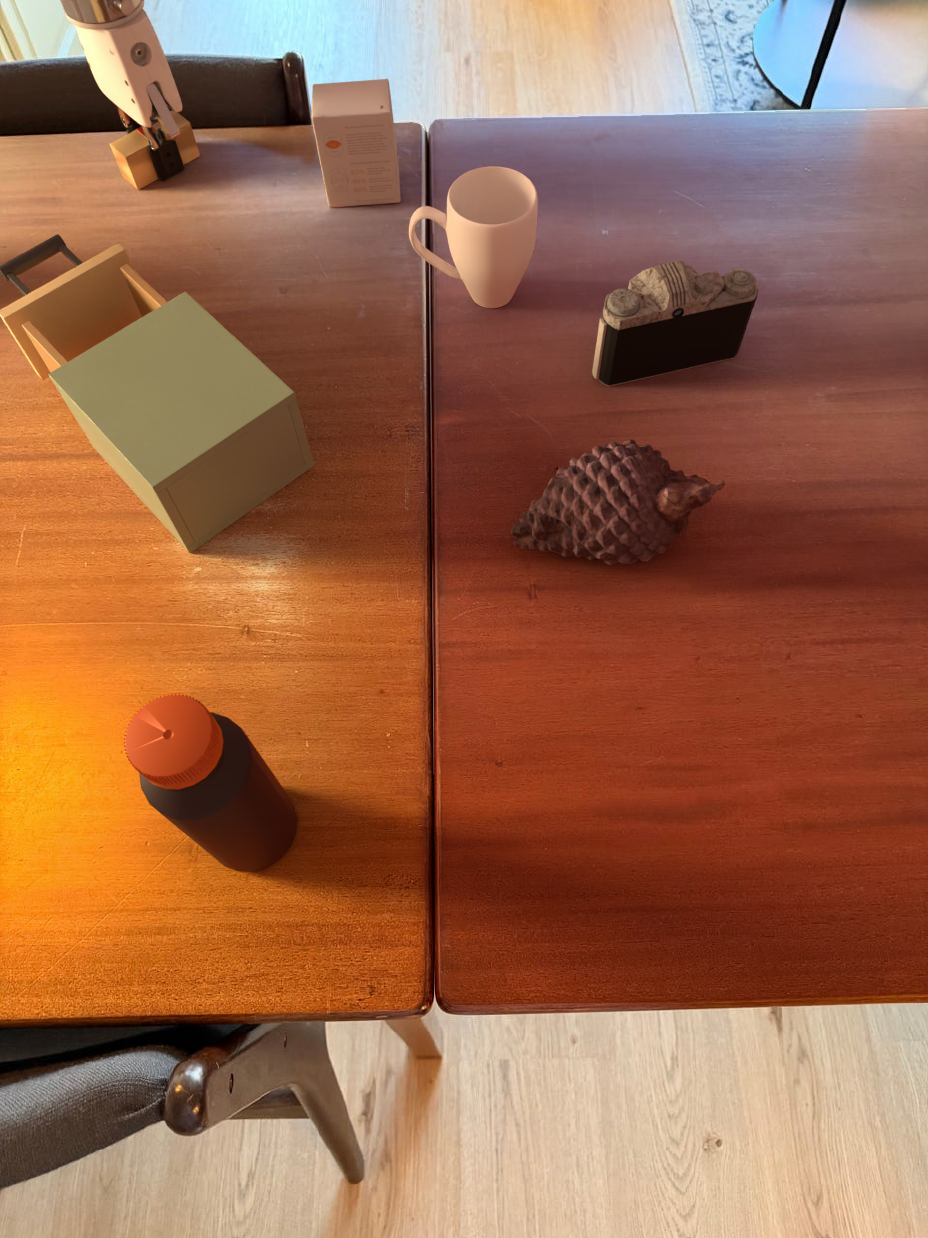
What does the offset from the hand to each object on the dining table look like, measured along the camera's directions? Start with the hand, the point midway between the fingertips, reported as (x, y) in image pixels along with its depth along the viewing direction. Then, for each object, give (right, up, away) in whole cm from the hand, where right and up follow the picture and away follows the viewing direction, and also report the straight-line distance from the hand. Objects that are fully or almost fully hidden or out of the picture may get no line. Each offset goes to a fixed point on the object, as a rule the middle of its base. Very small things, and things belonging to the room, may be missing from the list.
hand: (161, 164), depth 102 cm
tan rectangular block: (0, 0, 0) cm, 0 cm away
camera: (+53, -25, -14) cm, 60 cm away
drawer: (0, -26, -14) cm, 30 cm away
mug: (+35, -18, -10) cm, 41 cm away
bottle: (+18, -67, -34) cm, 77 cm away
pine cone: (+47, -44, -23) cm, 68 cm away
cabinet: (+10, -36, -19) cm, 42 cm away
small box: (+23, -4, -2) cm, 24 cm away
